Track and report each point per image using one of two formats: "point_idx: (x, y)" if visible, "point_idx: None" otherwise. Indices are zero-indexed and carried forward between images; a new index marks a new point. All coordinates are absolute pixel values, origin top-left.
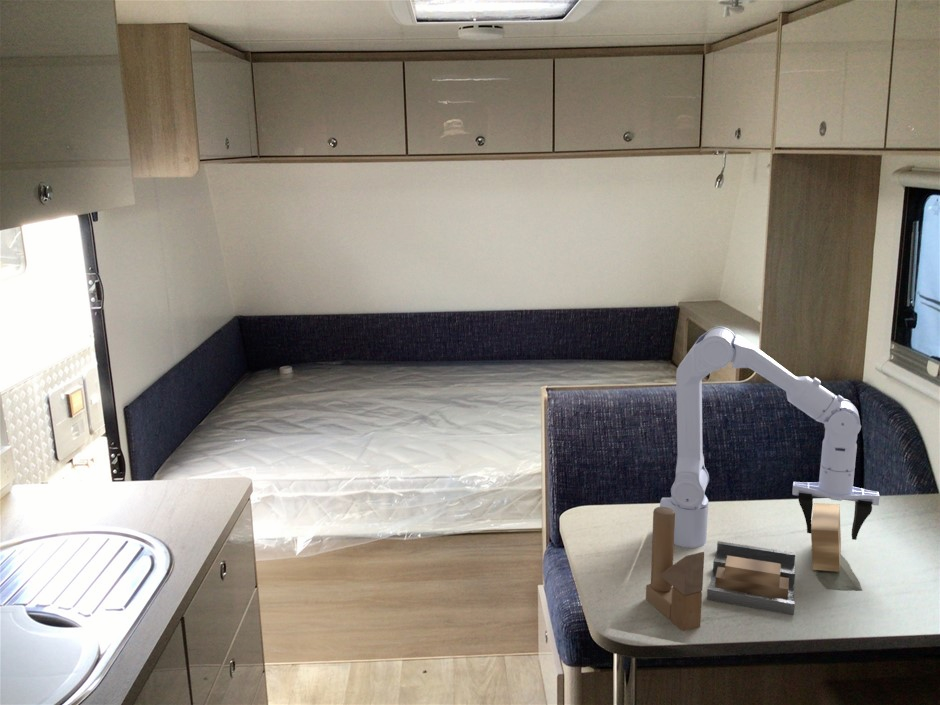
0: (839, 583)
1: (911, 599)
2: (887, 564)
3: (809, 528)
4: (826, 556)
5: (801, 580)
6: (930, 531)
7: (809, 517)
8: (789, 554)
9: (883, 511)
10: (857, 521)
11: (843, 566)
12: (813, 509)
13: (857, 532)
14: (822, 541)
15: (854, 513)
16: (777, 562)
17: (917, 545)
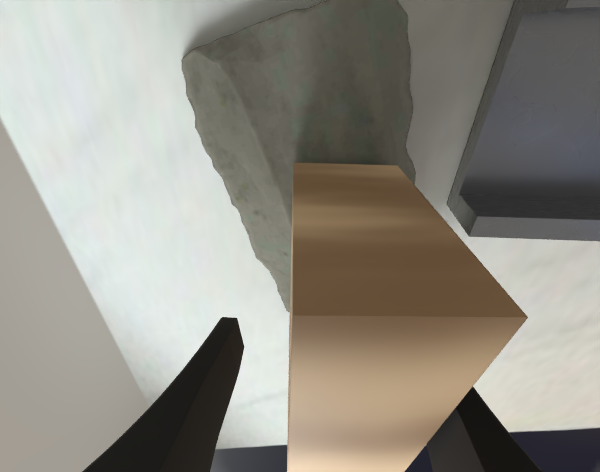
0: (295, 76)
1: (48, 88)
2: (178, 281)
3: None
4: (354, 194)
5: (449, 95)
6: (143, 390)
7: (479, 432)
8: (503, 216)
9: (224, 424)
10: (171, 423)
11: (280, 219)
12: (406, 468)
13: (200, 350)
14: (397, 244)
15: (210, 466)
16: (528, 193)
17: (147, 355)
